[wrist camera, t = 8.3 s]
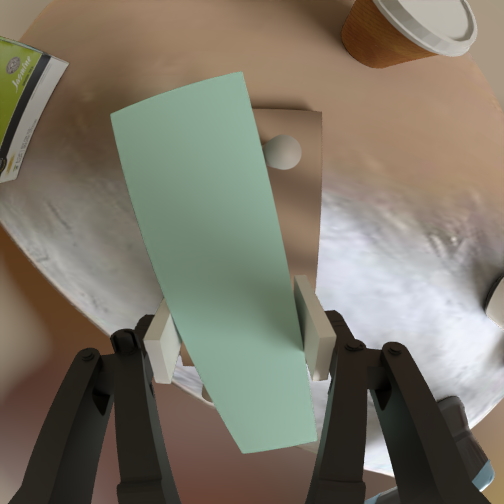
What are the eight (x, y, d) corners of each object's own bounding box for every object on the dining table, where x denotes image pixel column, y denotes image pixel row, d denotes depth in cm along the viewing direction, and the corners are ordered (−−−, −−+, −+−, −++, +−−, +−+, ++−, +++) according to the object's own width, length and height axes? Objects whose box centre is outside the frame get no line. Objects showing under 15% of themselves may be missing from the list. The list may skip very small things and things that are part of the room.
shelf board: (309, 405, 21) (317, 440, 17) (242, 417, 21) (242, 453, 18) (242, 92, 13) (242, 71, 10) (140, 123, 14) (110, 114, 10)
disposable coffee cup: (307, 40, 20) (348, -26, 8) (352, -6, 17) (399, -63, 6) (384, 101, 22) (464, 78, 10) (419, 49, 19) (489, 19, 8)
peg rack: (304, 355, 31) (321, 416, 22) (185, 357, 30) (170, 419, 21) (317, 114, 22) (357, 92, 13) (162, 117, 22) (120, 97, 13)
